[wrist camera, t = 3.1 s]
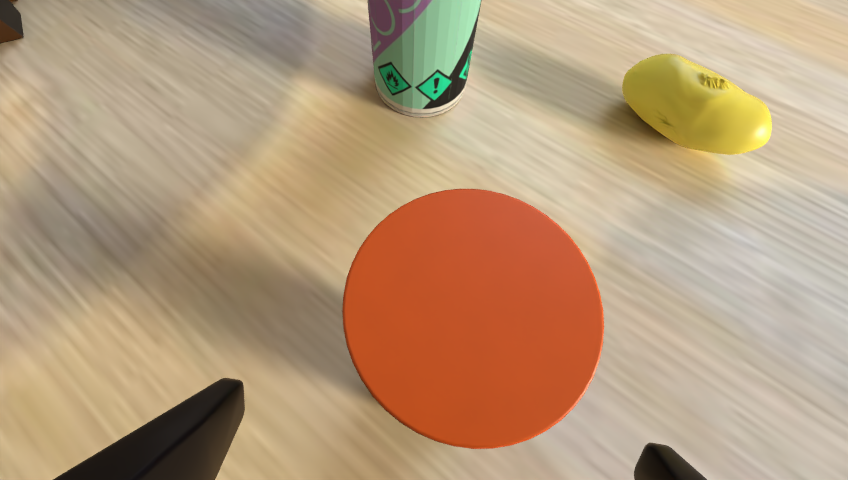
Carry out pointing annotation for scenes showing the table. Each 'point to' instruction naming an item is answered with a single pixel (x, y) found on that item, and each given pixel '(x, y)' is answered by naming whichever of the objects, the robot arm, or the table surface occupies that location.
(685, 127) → the yellow potato
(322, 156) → the table surface
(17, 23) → the pan flute
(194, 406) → the robot arm
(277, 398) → the table surface
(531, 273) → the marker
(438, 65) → the spray can
